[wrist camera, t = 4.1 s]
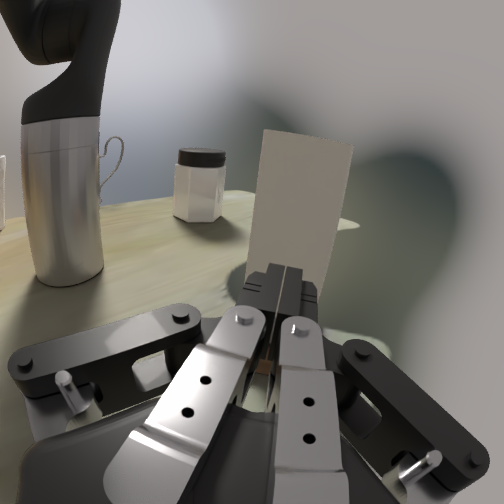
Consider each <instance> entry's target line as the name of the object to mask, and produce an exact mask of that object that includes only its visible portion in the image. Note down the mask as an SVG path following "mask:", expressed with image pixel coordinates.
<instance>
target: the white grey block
mask: <svg viewBox="0 0 504 504" xmlns="http://www.w3.org/2000/svg"><path fill="white" fill-rule="evenodd" d="M353 146H354V145H351V144H347V143H342V142H338V141H333V140H328V139H323V138H317V137H312V136H307V135H300V134H295V133H288V132H281V131H274V130H267V129H264V134H263V141H262V149H261V157H260V165H259V173H258V180H257V188H256V196H255V203H254V211H253V219H252V227H251V235H250V243H249V251H248V259H247V267H246V275H245V282H246V280H247V277H248V276H249V275H250V274H252V273H253V272H255V271H257V272H262V273H266V271H267V268H268V265H269V263H274V264H279V265H284V266H285V270H284V275H283V280H282V285H281V290H280V295H279V300H278V305H277V309H276V314H275V319H274V323H273V328H272V332H271V337H270V341H269V343H271V340H272V335H273V331H274V326H275V321H276V316H277V312H278V307H279V302H280V297H281V292H282V287H283V283H284V278H285V273H286V268H287V266H289V267H294V268H300V269H303V275H302V280H304V281H309V282H313V284H314V285H315V287H316V288H317V304H318V300H319V297H320V294H321V290H322V287H323V283H324V279H325V275H326V272H327V268H328V264H329V260H330V256H331V252H332V248H333V244H334V240H335V236H336V231H337V227H338V223H339V218H340V213H341V209H342V205H343V199H344V195H345V190H346V185H347V180H348V174H349V169H350V163H351V158H352V152H353ZM244 284H245V283H244Z"/></svg>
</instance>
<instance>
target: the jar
mask: <svg viewBox="0 0 504 504" xmlns="http://www.w3.org/2000/svg"><path fill="white" fill-rule="evenodd" d="M225 154H226V153H225V151H222V150H215V149H206V148H182V149H179V155H178V164H176V165H175V179H174V202H173V215H174V216H176V217H178V218H180V219H182V220H184V221H186V222H188V223H190V222H214V221H215V220H216V219H217V218H218V217H220V216H221V214H222V203H223V192H224V182H225V171H226V166H225V165H224V163H225V158H226V157H225Z"/></svg>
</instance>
